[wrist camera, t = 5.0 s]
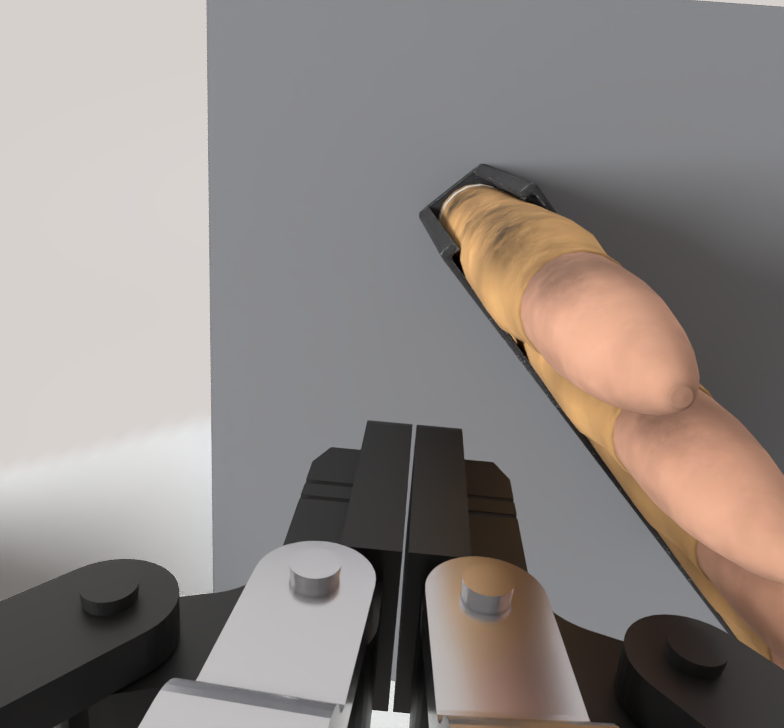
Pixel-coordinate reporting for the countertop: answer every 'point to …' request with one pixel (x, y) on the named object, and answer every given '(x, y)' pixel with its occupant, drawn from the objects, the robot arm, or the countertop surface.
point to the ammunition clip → (625, 392)
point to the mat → (438, 283)
